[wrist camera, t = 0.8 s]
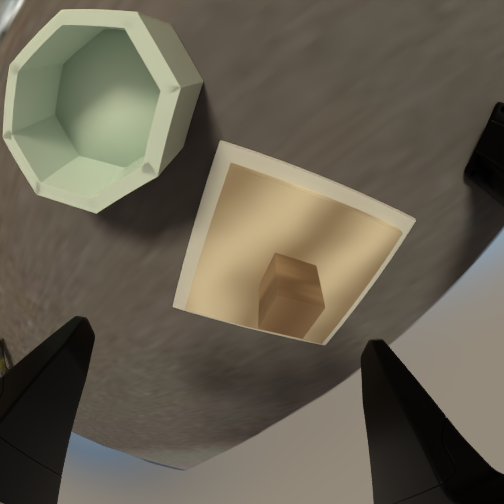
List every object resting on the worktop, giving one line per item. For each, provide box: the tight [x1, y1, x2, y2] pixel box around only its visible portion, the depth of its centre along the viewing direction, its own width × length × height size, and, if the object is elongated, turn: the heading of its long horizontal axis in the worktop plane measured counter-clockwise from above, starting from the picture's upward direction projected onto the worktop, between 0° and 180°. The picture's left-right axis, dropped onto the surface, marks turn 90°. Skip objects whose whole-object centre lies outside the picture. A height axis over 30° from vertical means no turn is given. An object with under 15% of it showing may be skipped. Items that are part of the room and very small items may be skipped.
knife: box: [0, 339, 10, 378], centre depth 36 cm, size 23×2×5 cm, turn 147°
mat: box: [173, 140, 416, 345], centre depth 21 cm, size 14×14×1 cm
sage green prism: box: [3, 9, 203, 213], centre depth 13 cm, size 10×10×5 cm
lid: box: [185, 163, 403, 344], centre depth 19 cm, size 12×12×5 cm
